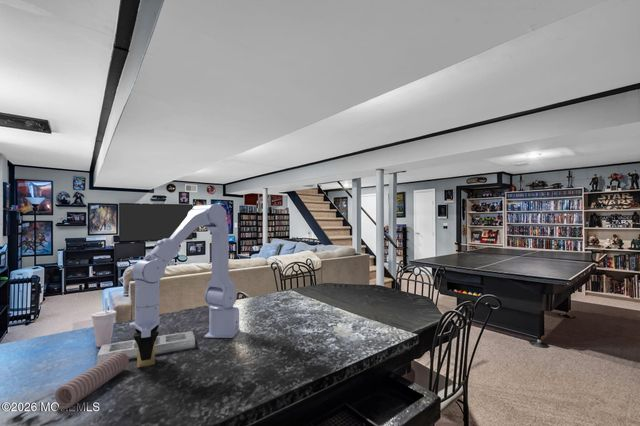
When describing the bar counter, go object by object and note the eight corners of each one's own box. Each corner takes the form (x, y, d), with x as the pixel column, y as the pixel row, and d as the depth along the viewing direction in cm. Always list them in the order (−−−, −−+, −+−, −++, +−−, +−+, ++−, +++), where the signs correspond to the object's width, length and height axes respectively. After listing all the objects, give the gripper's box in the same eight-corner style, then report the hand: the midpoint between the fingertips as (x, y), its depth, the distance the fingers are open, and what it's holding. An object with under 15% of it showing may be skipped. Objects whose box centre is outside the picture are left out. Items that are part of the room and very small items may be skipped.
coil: (113, 351, 79) (49, 388, 61) (130, 349, 79) (72, 386, 61) (114, 369, 79) (51, 412, 61) (132, 368, 79) (73, 410, 61)
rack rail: (192, 338, 99) (192, 330, 99) (194, 347, 92) (194, 338, 92) (102, 353, 88) (102, 344, 88) (97, 364, 81) (97, 355, 81)
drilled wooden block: (158, 357, 85) (158, 335, 85) (158, 363, 81) (158, 340, 81) (134, 362, 82) (134, 339, 82) (133, 368, 78) (133, 344, 79)
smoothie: (120, 342, 96) (121, 297, 96) (98, 350, 90) (99, 302, 91) (107, 339, 99) (108, 295, 99) (85, 346, 93) (86, 300, 93)
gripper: (131, 300, 87) (131, 349, 86) (127, 313, 74) (126, 371, 73) (159, 298, 90) (159, 344, 89) (160, 309, 77) (159, 364, 77)
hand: (146, 356), depth 82 cm, fingers closed on drilled wooden block, 4 cm apart
